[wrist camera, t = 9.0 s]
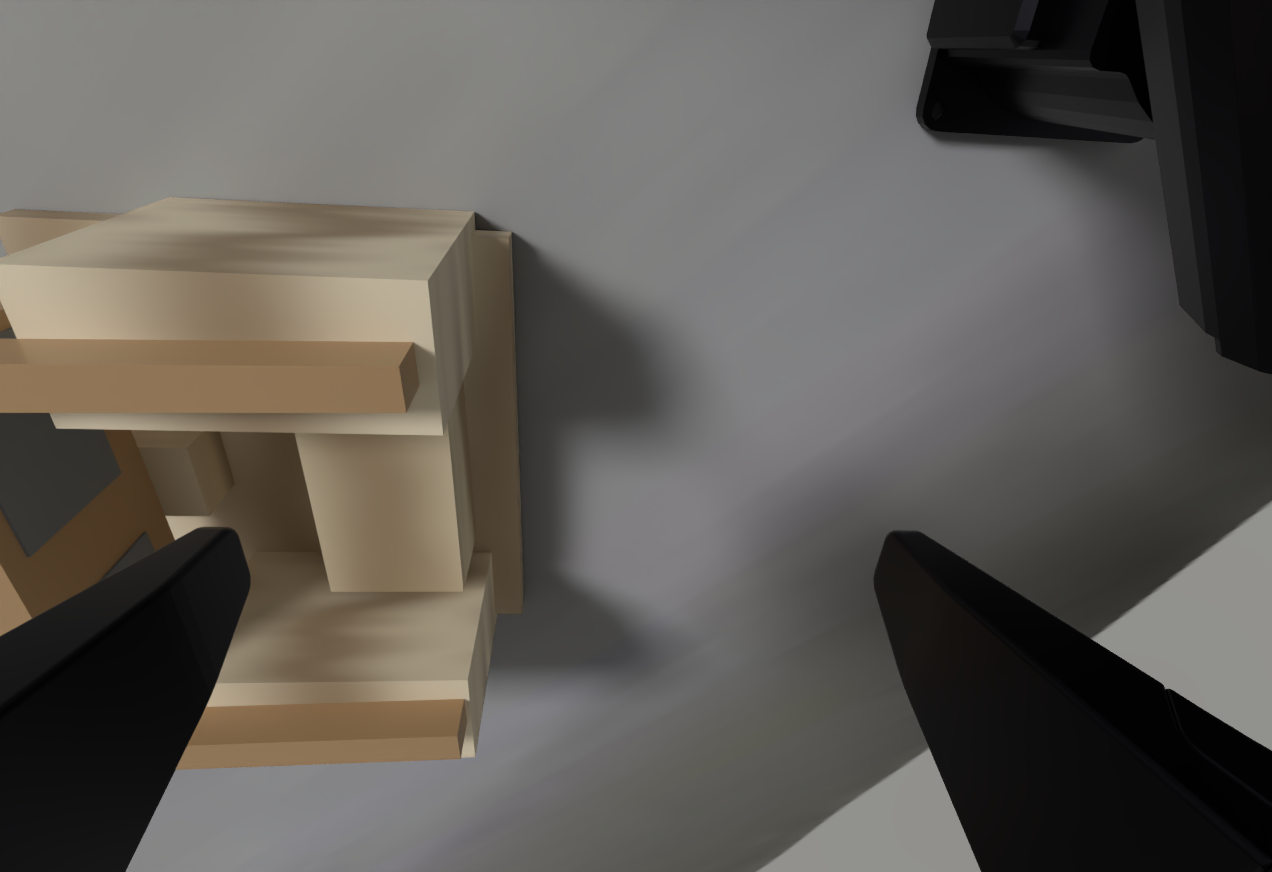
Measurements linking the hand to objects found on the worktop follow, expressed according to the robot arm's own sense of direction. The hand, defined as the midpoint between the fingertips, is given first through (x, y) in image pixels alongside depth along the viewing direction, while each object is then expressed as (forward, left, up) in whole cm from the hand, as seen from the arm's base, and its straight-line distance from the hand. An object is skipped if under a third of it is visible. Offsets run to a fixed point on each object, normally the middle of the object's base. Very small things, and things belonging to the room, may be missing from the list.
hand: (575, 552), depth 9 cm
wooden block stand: (+8, +5, -12) cm, 16 cm away
